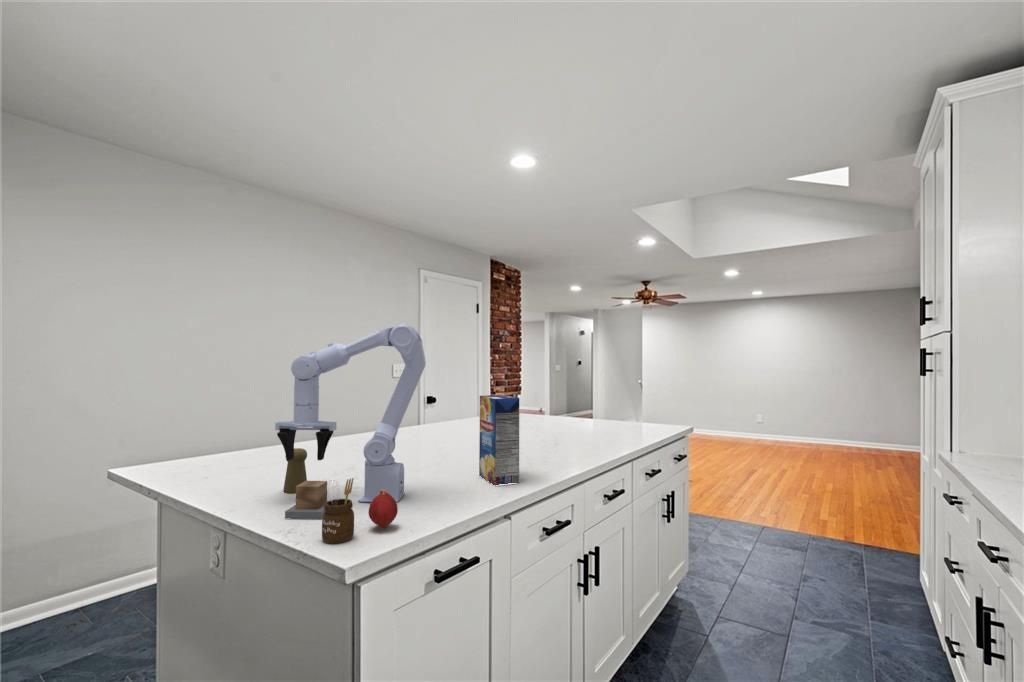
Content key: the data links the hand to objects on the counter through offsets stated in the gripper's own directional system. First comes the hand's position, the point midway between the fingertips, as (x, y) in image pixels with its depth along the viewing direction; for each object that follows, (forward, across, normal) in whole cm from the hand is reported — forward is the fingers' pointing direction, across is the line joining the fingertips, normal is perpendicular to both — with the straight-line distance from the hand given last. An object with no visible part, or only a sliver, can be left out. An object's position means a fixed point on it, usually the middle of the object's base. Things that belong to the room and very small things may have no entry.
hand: (305, 459), depth 120 cm
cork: (+10, -6, +8) cm, 14 cm away
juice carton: (+10, +47, +21) cm, 52 cm away
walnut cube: (+8, +6, -10) cm, 14 cm away
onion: (+10, +25, -19) cm, 33 cm away
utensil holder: (+10, +18, -25) cm, 32 cm away
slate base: (+10, +6, -10) cm, 15 cm away
